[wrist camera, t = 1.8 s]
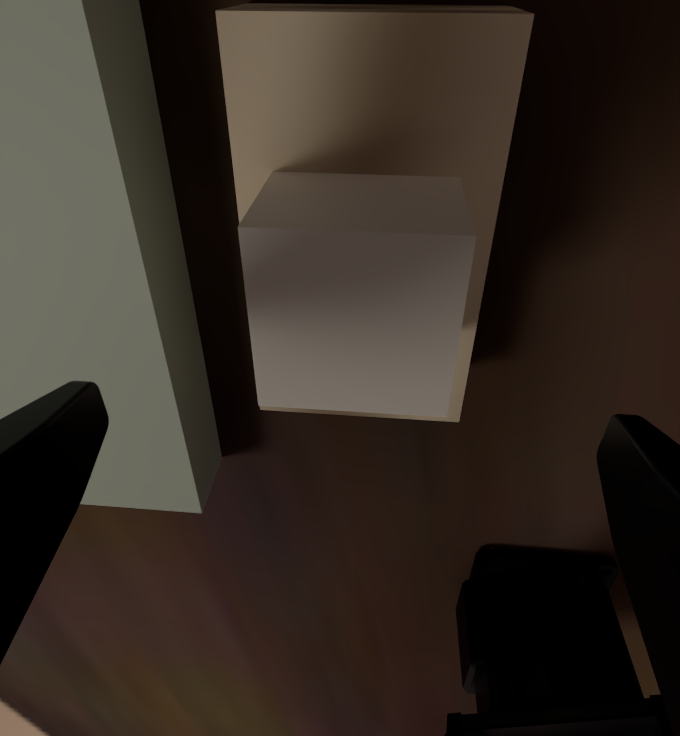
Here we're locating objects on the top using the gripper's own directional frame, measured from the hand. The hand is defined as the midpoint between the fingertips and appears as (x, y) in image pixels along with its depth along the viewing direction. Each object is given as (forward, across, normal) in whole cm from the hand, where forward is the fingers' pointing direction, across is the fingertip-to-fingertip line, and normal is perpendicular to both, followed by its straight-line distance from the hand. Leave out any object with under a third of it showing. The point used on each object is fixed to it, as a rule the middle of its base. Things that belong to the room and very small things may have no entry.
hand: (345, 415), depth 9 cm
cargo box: (+6, 0, 0) cm, 6 cm away
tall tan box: (+9, 0, 0) cm, 9 cm away
